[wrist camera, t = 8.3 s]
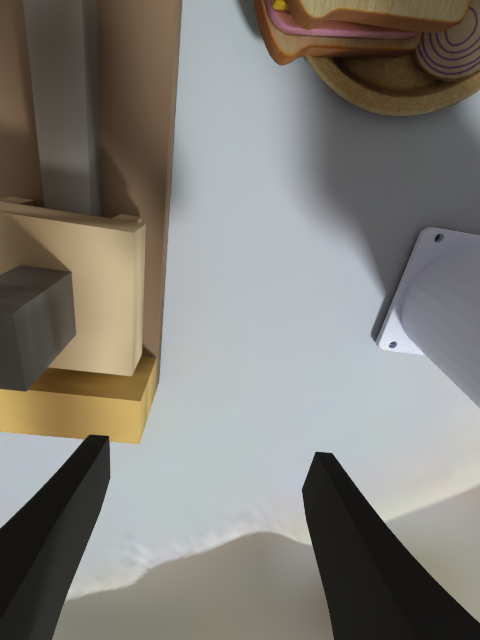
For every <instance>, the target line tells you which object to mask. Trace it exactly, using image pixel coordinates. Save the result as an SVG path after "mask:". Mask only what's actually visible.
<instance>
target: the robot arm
mask: <svg viewBox="0 0 480 640" xmlns="http://www.w3.org/2000/svg"><path fill="white" fill-rule="evenodd" d="M438 234H440V238H439V239H438V240H437V241H435V240H434V239H435V237H436V235H438ZM391 342H394V343H393V344H392V345H389V344H390V343H391ZM376 345H377V346H378V347H379V348H380V349H381V350H386V351H394V352H402V353H410V354H418V355H426V356H427V357H428V358H429V359H430V360H431V361H432V362H433V363H434V364H435V365H436V366H437V367H438V368H439V369H440V370H441V371H442V372H443V373H444V374H445V375H446V376H447V377H448V378H449V379H451V380H452V381H453V382H454V383H455V384H456V385H457V386H458V387H459V388H460V389H461V390H462V391H463V392H464V393H465V394H466V395H467V396H468V397H469V398H470V399H471V400H472V401H473V402H474V403H475V404H476V405H477V406H478V407H479V408H480V235H477V234H471V233H465V232H459V231H453V230H448V229H442V228H436V227H426V228H424V229H423V230H422V231H421V232H420V234H419V236H418V239H417V241H416V244H415V246H414V249H413V251H412V254H411V256H410V259H409V261H408V263H407V266H406V268H405V271H404V273H403V276H402V278H401V281H400V283H399V286H398V288H397V291H396V293H395V296H394V298H393V301H392V303H391V306H390V308H389V311H388V313H387V315H386V318H385V320H384V323H383V325H382V328H381V330H380V333H379V335H378V338H377V340H376ZM109 480H110V445H109V436H105V435H92V434H90V435H89V436H87V437H86V439H85V440H84V441H83V442H82V443H81V445H80V446H79V447H78V448H77V449H76V451H75V452H74V453H73V454H72V455H71V456H70V457H69V459H68V460H67V461H66V462H65V463H64V464H63V465H62V466H61V468H60V469H59V470H58V471H57V472H56V473H55V474H54V475H53V476H52V477H51V478H50V479H49V481H48V482H47V483H46V484H45V485H44V486H43V487H42V488H41V489H40V490H39V491H38V492H37V493H36V494H35V495H34V496H33V497H32V498H31V499H30V500H29V501H28V502H27V503H26V504H25V505H24V506H23V507H22V508H21V509H20V510H19V511H18V512H17V513H16V514H15V515H14V516H13V517H12V518H11V519H10V520H9V521H8V522H7V523H6V524H5V525H4V526H2V527H1V528H0V640H52V638H53V634H54V631H55V628H56V625H57V622H58V619H59V616H60V613H61V609H62V606H63V604H64V601H65V598H66V596H67V593H68V590H69V588H70V585H71V583H72V580H73V578H74V575H75V573H76V570H77V568H78V566H79V563H80V561H81V558H82V556H83V553H84V551H85V548H86V546H87V543H88V541H89V538H90V536H91V533H92V531H93V528H94V526H95V523H96V521H97V518H98V516H99V513H100V511H101V508H102V504H103V501H104V498H105V494H106V491H107V487H108V484H109ZM302 494H303V501H304V508H305V515H306V521H307V525H308V529H309V533H310V537H311V541H312V545H313V548H314V552H315V556H316V560H317V564H318V568H319V572H320V576H321V580H322V584H323V587H324V591H325V595H326V600H327V604H328V609H329V613H330V618H331V624H332V630H333V636H334V640H480V623H479V622H478V621H477V620H476V619H474V618H473V617H472V616H471V615H470V614H469V613H468V612H467V611H466V610H465V609H464V608H463V607H462V606H461V605H460V604H459V603H458V602H457V601H456V600H455V599H454V598H453V597H451V595H450V594H449V593H448V592H446V591H445V589H444V588H443V587H442V586H441V585H439V584H438V582H437V581H435V579H434V578H433V577H432V576H431V575H430V574H429V573H428V572H427V571H426V570H425V569H424V568H423V567H422V565H421V564H420V563H419V562H418V561H417V560H416V559H415V558H414V557H413V556H412V555H411V554H410V552H409V551H408V550H407V549H406V548H405V547H404V546H403V545H402V543H401V542H400V541H399V540H398V539H397V538H396V536H395V535H394V534H393V533H392V531H391V530H390V529H389V528H388V527H387V525H386V524H385V523H384V522H383V520H382V519H381V518H380V517H379V515H378V514H377V513H376V512H375V510H374V509H373V508H372V506H371V505H370V504H369V503H368V501H367V500H366V499H365V497H364V496H363V495H362V493H361V492H360V491H359V489H358V488H357V487H356V485H355V484H354V482H353V481H352V480H351V478H350V477H349V476H348V474H347V473H346V471H345V470H344V469H343V467H342V466H341V465H340V463H339V462H338V460H337V459H336V458H335V456H334V455H333V454H332V453H325V452H316V453H315V456H314V458H313V461H312V464H311V466H310V469H309V472H308V474H307V477H306V480H305V483H304V485H303V488H302Z"/></svg>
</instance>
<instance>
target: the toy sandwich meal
mask: <svg viewBox="0 0 480 640" xmlns="http://www.w3.org/2000/svg"><path fill="white" fill-rule="evenodd" d="M254 6H255V11H256V15H257V20H258V24H259V27H260V31H261V34H262V37H263V40H264V43H265V46H266V48H267V50H268V52H269V54H270V56H271V57H272V59H273V60H274V61H275V62H276V63H277V64H279V65H285V64H288V63H290V62H292V61H293V60H295V59H296V58H298V57H302V56H305V57H306V59H307V61H308V62H309V64H310V65H311V67H312V68H313V69H314V71H315V72H316V73H317V74H318V75H319V77H320V78H321V79H322V80H323V81H324V82H325V83H326V84H327V85H328V86H329V87H330V88H331V89H332V90H334V91H335V92H336V93H337V94H338V95H340V96H341V97H342V98H344V99H345V100H347V101H349V102H350V103H352V104H354V105H356V106H358V107H360V108H362V109H365V110H367V111H370V112H374V113H377V114H382V115H388V116H415V115H421V114H426V113H430V112H434V111H437V110H441V109H443V108H446V107H449V106H451V105H454V104H456V103H458V102H460V101H462V100H464V99H466V98H468V97H469V96H471V95H473V94H474V93H476V92H478V91H479V90H480V0H254Z"/></svg>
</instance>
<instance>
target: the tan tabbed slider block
mask: <svg viewBox="0 0 480 640" xmlns="http://www.w3.org/2000/svg"><path fill="white" fill-rule="evenodd" d="M142 218H143V217H140V216H134V215H127V214H120V215H118V216H116V217H114V218H112V219H111V218H105V217H99V216H92V215H86V214H79V213H73V212H67V211H60V210H54V209H47V208H41V207H36V200H33V199H26V198H20V197H14V196H13V197H7V198H0V389H5V390H15V391H24V392H26V391H27V390H28V389H29V388H30V387H31V386H32V385H33V383H34V382H35V381H36V380H37V379H38V378H39V377H40V375H41V374H42V373H43V372H44V371H45V370H46V369H47V367H50V368H59V369H68V370H77V371H87V372H96V373H105V374H114V375H123V376H132V375H133V373H134V371H135V368H136V366H137V364H138V362H139V360H140V357H141V355H142V333H143V300H144V267H145V233H146V224H143V223H142Z"/></svg>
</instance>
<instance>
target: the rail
mask: <svg viewBox="0 0 480 640" xmlns="http://www.w3.org/2000/svg"><path fill="white" fill-rule="evenodd" d="M181 13H182V0H0V198H7V197H13V196H14V197H20V198H26V199H33V200H36V207H41V208H47V209H54V210H60V211H67V212H73V213H79V214H86V215H92V216H99V217H105V218H111V219H112V218H114V217H116V216H118V215H120V214H127V215H134V216H140V217H143V218H142V223H143V224H146V233H145V267H144V300H143V333H142V355H141V357H140V360H139V362H138V364H137V366H136V368H135V371H134V373H133V375H132V376H123V375H114V374H105V373H96V372H87V371H77V370H68V369H59V368H50V367H47V369H46V370H45V371H44V372H43V373H42V374H41V375H40V377H39V378H38V379H37V380H36V381H35V382H34V383H33V385H32V386H31V387H30V388H29V389H28V390H27V391H26V392H24V391H15V390H5V389H0V432H9V433H20V434H31V435H43V436H54V437H65V438H77V439H86V437H87V436H89V435H90V434H92V435H105V436H109V441H111V442H122V443H134V444H140V440H141V437H142V434H143V431H144V428H145V425H146V421H147V418H148V415H149V412H150V409H151V405H152V402H153V399H154V396H155V393H156V390H157V386H158V383H159V374H160V358H161V341H162V325H163V308H164V292H165V275H166V259H167V243H168V226H169V210H170V193H171V177H172V160H173V144H174V128H175V111H176V95H177V78H178V62H179V45H180V29H181Z"/></svg>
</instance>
